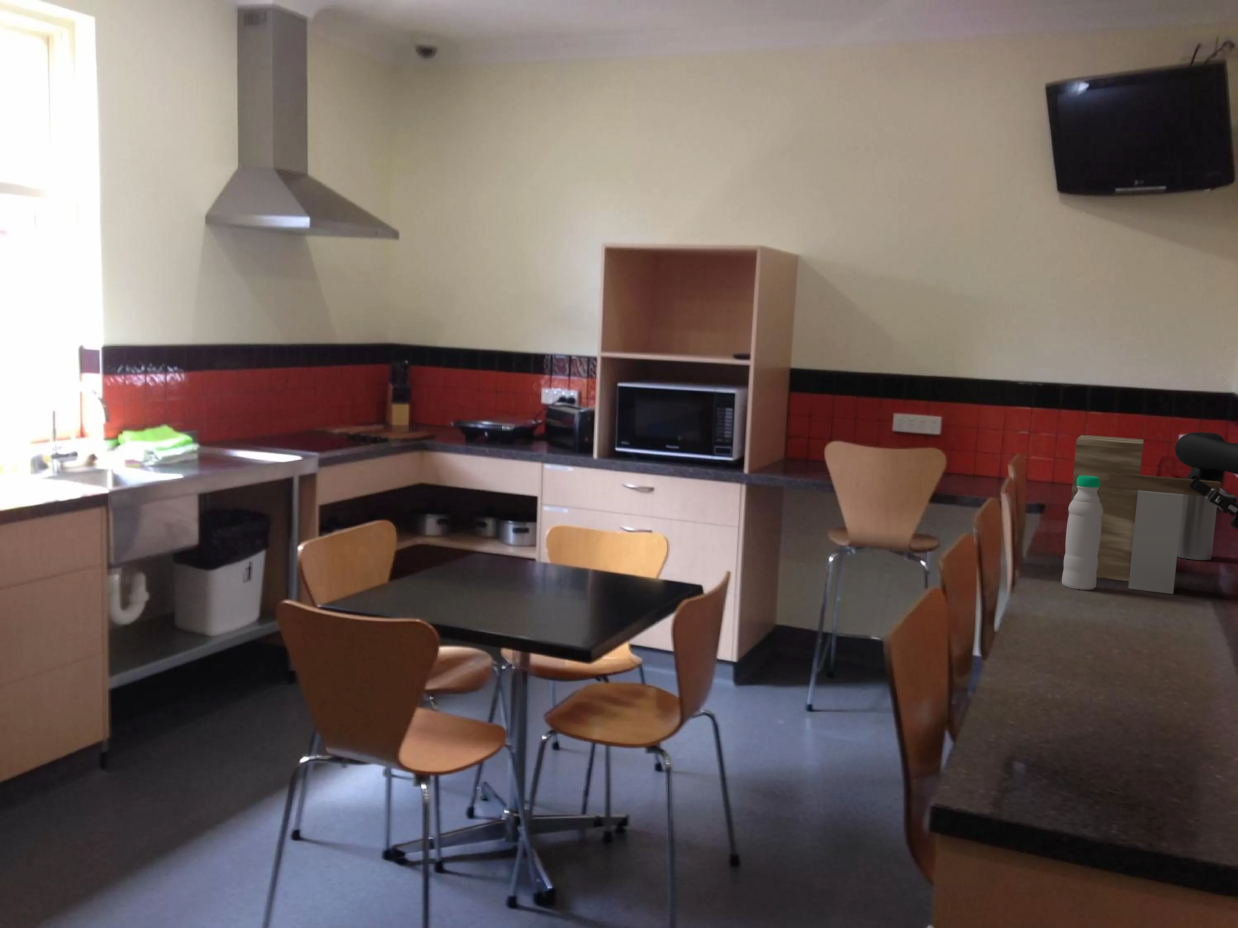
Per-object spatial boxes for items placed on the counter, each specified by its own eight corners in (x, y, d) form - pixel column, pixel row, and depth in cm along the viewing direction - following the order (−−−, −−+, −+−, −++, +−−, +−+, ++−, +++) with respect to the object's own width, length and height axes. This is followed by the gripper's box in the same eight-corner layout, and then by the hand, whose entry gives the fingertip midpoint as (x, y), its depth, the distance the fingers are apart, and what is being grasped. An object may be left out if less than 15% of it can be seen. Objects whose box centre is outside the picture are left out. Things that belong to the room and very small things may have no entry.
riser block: (1129, 581, 250) (1138, 487, 247) (1172, 587, 246) (1182, 491, 243) (1128, 588, 242) (1137, 491, 240) (1173, 593, 239) (1183, 495, 236)
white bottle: (1094, 585, 244) (1104, 475, 241) (1096, 592, 237) (1107, 479, 234) (1060, 582, 246) (1070, 473, 243) (1062, 588, 239) (1072, 476, 237)
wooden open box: (1069, 561, 273) (1081, 435, 269) (1130, 568, 267) (1143, 439, 263) (1064, 573, 257) (1076, 439, 253) (1129, 581, 251) (1142, 444, 247)
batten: (1109, 486, 248) (1110, 472, 247) (1218, 496, 238) (1219, 481, 238) (1108, 487, 245) (1110, 473, 244) (1219, 497, 235) (1220, 483, 235)
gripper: (1251, 541, 228) (1180, 497, 234) (1246, 532, 241) (1179, 490, 246) (1275, 513, 226) (1203, 468, 231) (1269, 505, 239) (1201, 463, 244)
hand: (1191, 480), depth 239 cm, fingers open, 8 cm apart
